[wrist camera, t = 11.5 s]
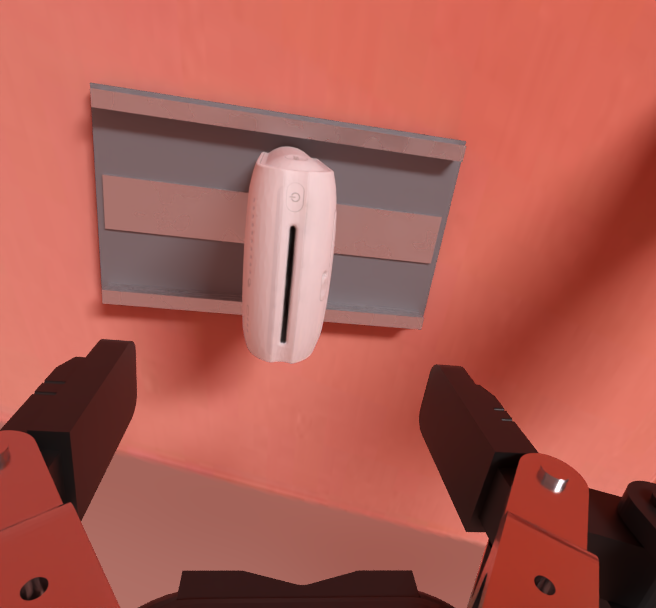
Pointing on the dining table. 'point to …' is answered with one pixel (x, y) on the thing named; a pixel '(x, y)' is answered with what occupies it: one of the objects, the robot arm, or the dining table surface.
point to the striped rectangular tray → (231, 207)
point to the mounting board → (235, 174)
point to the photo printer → (287, 254)
